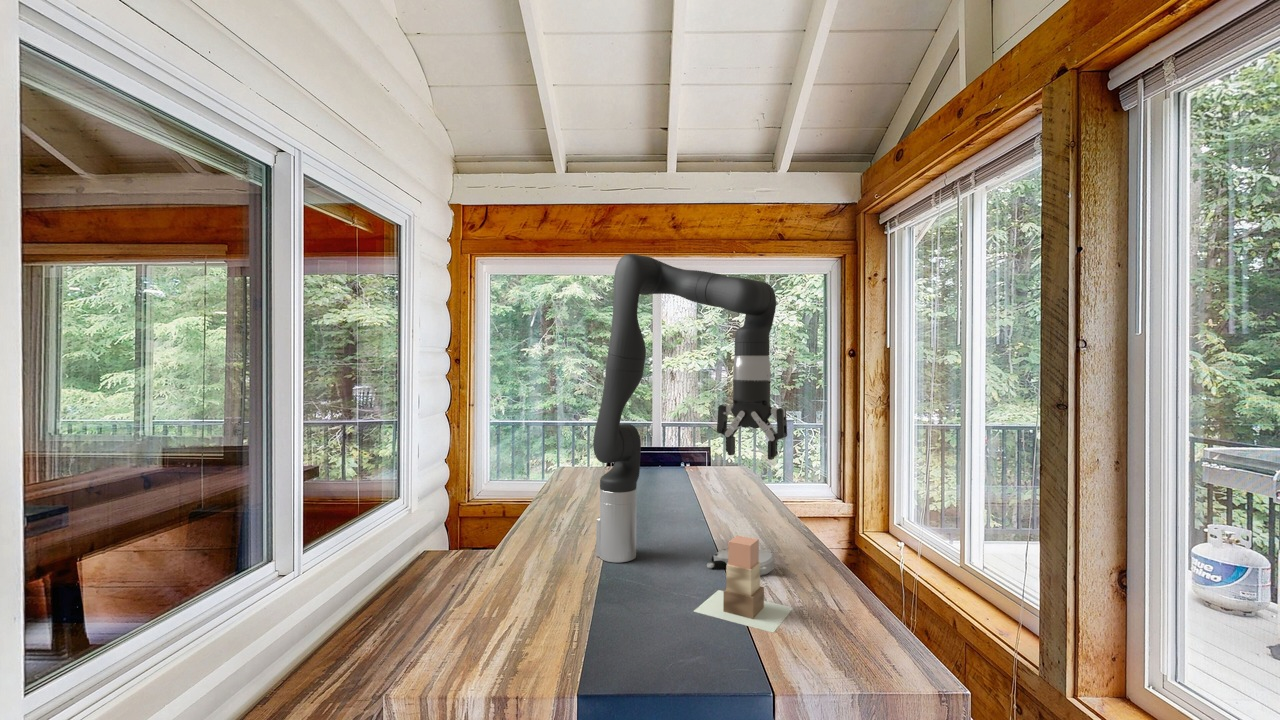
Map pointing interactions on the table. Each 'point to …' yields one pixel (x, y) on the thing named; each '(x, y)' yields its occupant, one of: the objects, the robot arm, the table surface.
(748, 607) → the walnut block
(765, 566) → the robot toy
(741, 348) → the robot arm
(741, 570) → the maple block
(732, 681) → the table surface
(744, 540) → the terracotta block
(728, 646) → the table surface
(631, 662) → the table surface
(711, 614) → the board
